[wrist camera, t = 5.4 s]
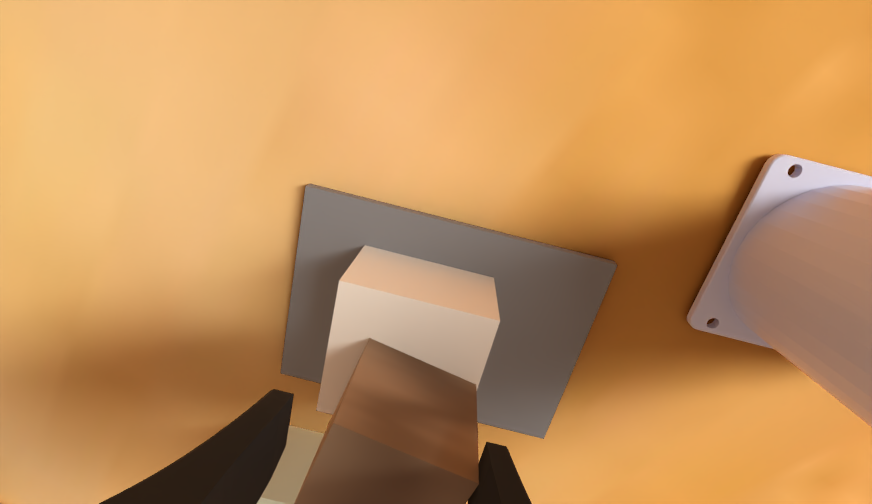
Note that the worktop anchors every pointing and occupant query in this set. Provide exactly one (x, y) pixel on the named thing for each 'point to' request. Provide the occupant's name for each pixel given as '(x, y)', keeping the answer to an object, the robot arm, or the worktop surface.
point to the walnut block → (397, 436)
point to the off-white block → (409, 317)
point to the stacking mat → (467, 250)
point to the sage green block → (292, 466)
